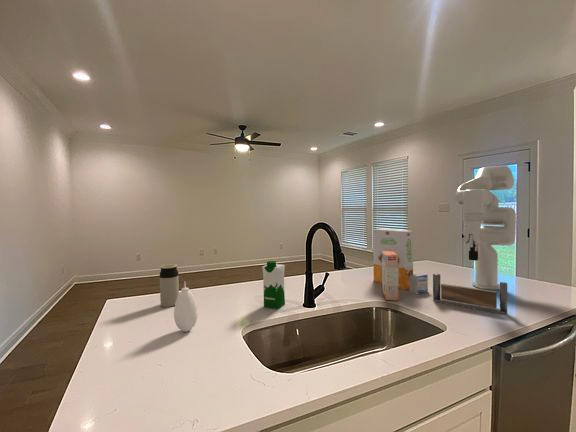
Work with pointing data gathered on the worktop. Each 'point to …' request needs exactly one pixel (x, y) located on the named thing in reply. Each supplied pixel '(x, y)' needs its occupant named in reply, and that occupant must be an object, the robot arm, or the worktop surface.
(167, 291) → the travel mug
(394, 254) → the cracker box
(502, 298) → the gate frame
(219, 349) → the worktop surface
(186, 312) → the white air blower bulb
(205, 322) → the worktop surface
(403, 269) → the cereal box
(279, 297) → the milk carton
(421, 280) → the medicine box
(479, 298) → the gate
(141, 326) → the worktop surface
